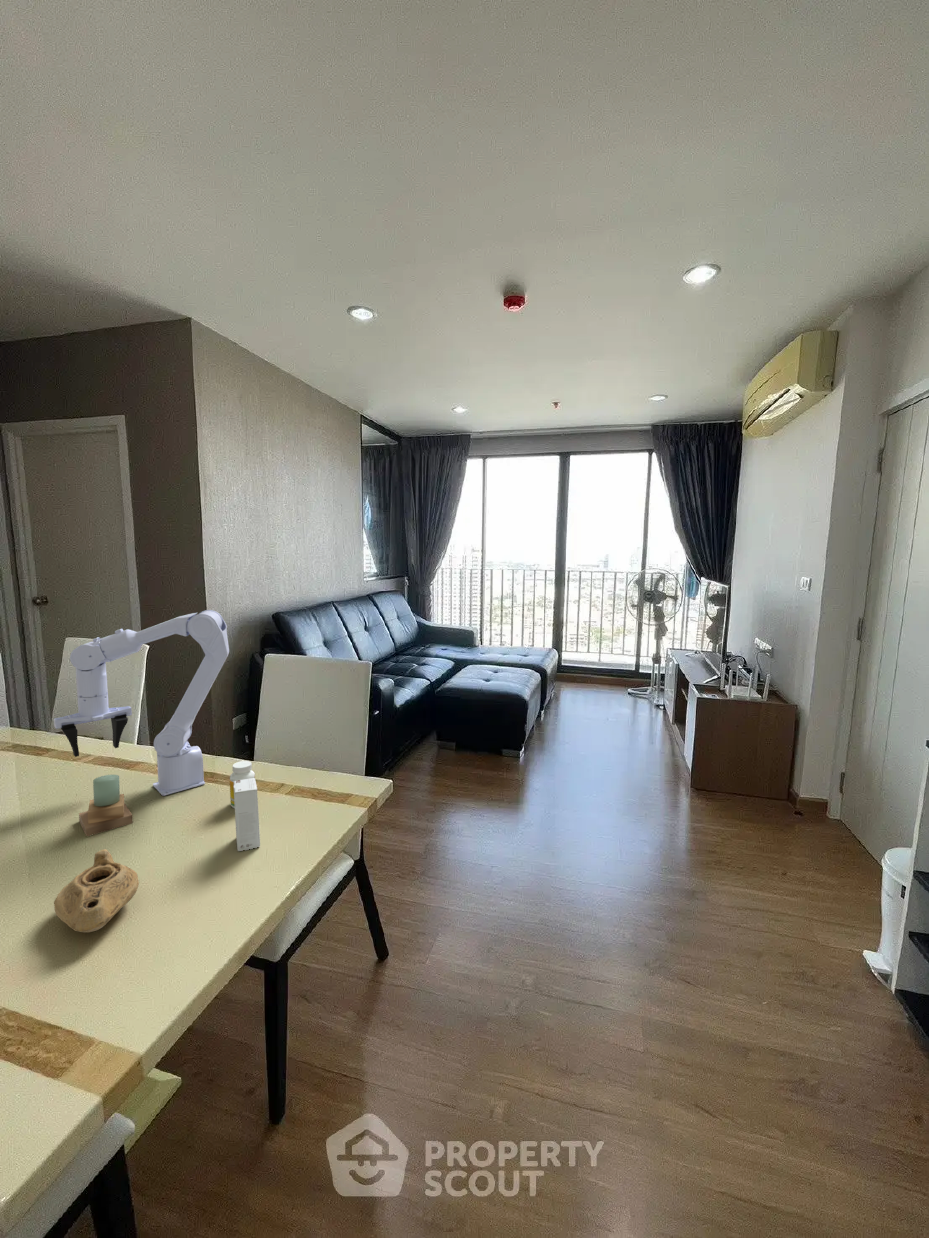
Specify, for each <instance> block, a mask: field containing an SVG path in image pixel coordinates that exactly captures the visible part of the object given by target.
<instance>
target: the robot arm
mask: <svg viewBox="0 0 929 1238" xmlns="http://www.w3.org/2000/svg"><path fill="white" fill-rule="evenodd" d="M227 628H228V624H227V623H226V621H225V620H224V618H223V616H222V615H221V613H219V612H218V611H216V610H213V609H206V610H205V609H204V610H203V611H200V612H199V613H198V612H192V613H188V614H185V615H179V616H177V617H175V618H171V619H169V620H166V621H164V622H161V623H158V624H156V625H153V626H149V627H147V628H145V629H142V630H139V631H135V630H133V629H125V630H124V629H123V628H120V629H119V628H118V629H117V630H114V633H113V634H110V635H107V636H104V637H99V636H97V637H96V638H95V637H94V638H93V639H92V641H89V642H86V643H84V644H80V645H79V646H77V647H76V648H74V649H73V650H72V651H71V653H70V655H69V661H70V663H71V665H72V666H73V667H74V668H75V680H76V681H75V682H76V696H77V707H78V708H77V710H78V711H77V713H73V714H68V715H65V716H61V717H55V718H53V727H54V728H55V729H56V730H57V729H61V731H62V732H63V734H64V736H65V737H66V738H67V740H68V742H69V745H70V747H71V750H72V754H73V756H74V757H75V758H77V757H80V751H79V744H78V729H77V726H76V725H81V724H86V723H91V722H96V721H103V720H108V719H110V722H111V728H112V746H113V748H114V749H118V748H120V742H121V737H122V734H123V732H124V729H125V728H126V725H127V724H128V720H129V718H128V717H130V716H132V715H133V713H132V706H130V705H127V706H116V707H109V690H108V673H107V664H106V663H111V662H113V661H114V662H115V661H117V660H120V659H122V658H126V657H128V656H131V655H133V654H136V653H140V652H139V651H140V650H141V648H142V646H144V645H146V644H148V643H151V642H154V641H157V640H161V639H164V638H167V637H170V636H172V635H180V636H182V637H188V636H189V635H190V636H191V638H193V640H195V641H196V642H197V643H198V644H199V646H200V647H201V649H202V651H203V653H204V657H203V658H202V661H201V663H200V664H199V666H198V667H197V670H196V672H195V674H194V675H193V677H192V680H191V681H190V683H189V685H188V686H187V689H186V691H185V693H184V695H183V697H181V698H182V699H181V700H180V701H179V704H178V706H177V707H176V709H175V711H174V713H173V715H172V716H171V718H170V720H169V721H168V722H167V723H165V725H164V728H163V729H162V730H161V731H160V732H159V733H158V734H156V735H155V738H154V739H153V748H154V750H155V751H156V761H157V762H156V763H157V764H156V765H157V779H158V780H157V782H153V783H152V786H153V787H154V788H155V789H156V790H157V792H158V793H159V794H161V796H163V797H164V796H167V795H171V794H175V793H178V792H179V793H180V792H182V791H185V790H188V789H192V788H196V787H199V786H203V785H204V784H205V785H206V782H205V780H204V777H205V775H204V759H203V753H202V749H201V748H200V747H199V746H198V745H193V746H191V745H190V743H189V739H190V737H191V736H192V732H193V731H192V730H193V727H192V726H193V723H194V721H195V719H196V718H197V717H196V716H197V715H198V712H200V709H201V707H202V705H203V703H204V702H205V700H206V698H207V696H208V694H209V693H210V690H211V688H212V686H213V684H214V682H215V681H216V679H217V677H218V675H219V673H220V672H221V669H223V666H224V664H225V662H226V660H227V658H228V656H229V654H230V645H229V639H228V638H229V637H228V629H227Z"/></svg>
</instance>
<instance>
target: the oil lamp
mask: <svg viewBox="0 0 929 1238" xmlns="http://www.w3.org/2000/svg"><path fill="white" fill-rule="evenodd" d="M93 860H94V862H93V865H91V866H90V867H88V868H86V869H84V871H83V872H81V873H79V874H77V875H76V876H75V877H74V878H73V879H72V881H70V882H68V884H66V885H65V886H64V887H63V888H62V889H61V890H60V891H59V893H58V894H57V895H56V897H55V899H54V901H53V905H54V912H55V914H56V916H57V918H59V920H61V922H63V923H65V924H66V925H67V926H68V927H69V928H70V929H72V930H74V931H75V932H79V933H91V932H95V931H98V930H101V929H102V928H104V927H105V926H106V925H107V924H108V923H109V921H111V919H113V917H115V915H116V914H118V912H119V911H121V909H123V907H125V905H127V904H128V903H129V902H130V901H131V900H132V899H133V898H134V896H135V895H136V893H137V891H138V889H139V886H140V885H139V884H140V882H139V881H140V880H139V877H138V873H137V872H136V871H135V870H134V869H132V868H131V867H128V866H126V865H124V864H121V863H120V862H115V860H114V859H113V856H112V854H111V853H110V852H109V850H108V849H104V848H103V849H100V850H98V851H97V852H95V854H94V859H93Z"/></svg>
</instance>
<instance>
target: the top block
mask: <svg viewBox="0 0 929 1238" xmlns="http://www.w3.org/2000/svg"><path fill="white" fill-rule="evenodd" d="M124 803H125V794H124V793H121V794H120V800H119V801H118V802H117V803H115V804H112V805H108V806H95V805H94V798H93V799H90V800H89V804H88V808H87V811H88V824H91V823H96V822H101V821H105V820H110V819H115V818H120V817H124Z"/></svg>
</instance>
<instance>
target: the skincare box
mask: <svg viewBox="0 0 929 1238" xmlns="http://www.w3.org/2000/svg"><path fill="white" fill-rule="evenodd" d="M258 799H259V798H258V785H257V782H256V777H255V778H249V779H243V780H238V781H234V805H235V808H234V817H235V818H234V819H235V820H234V821H235V836H236V837H235V838H236V848H237V849H236V850H237V851H238V852H243V850H245V851H249V849H250V850H254V849H253V848H255V849H258V848H257V847H259V848H260V846H261V837H260V836H261V834H260V817H259V816H260V815H259V814H260V813H259V801H258Z"/></svg>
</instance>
